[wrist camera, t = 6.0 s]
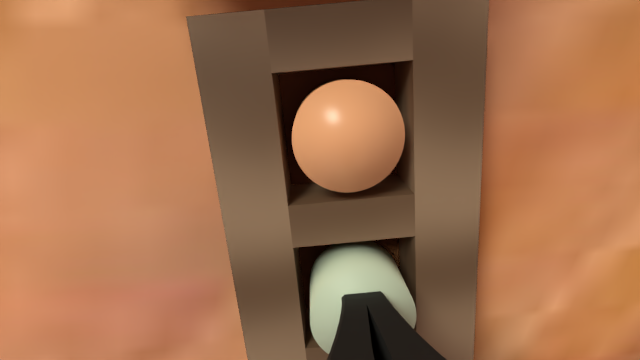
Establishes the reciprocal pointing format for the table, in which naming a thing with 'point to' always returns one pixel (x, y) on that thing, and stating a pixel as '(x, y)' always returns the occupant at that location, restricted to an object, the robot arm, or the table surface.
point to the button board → (354, 207)
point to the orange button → (348, 135)
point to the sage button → (353, 285)
